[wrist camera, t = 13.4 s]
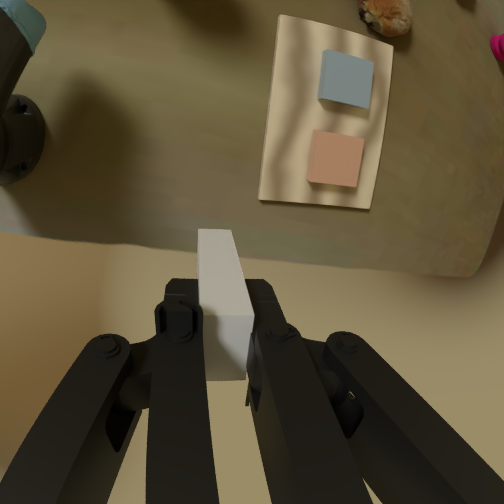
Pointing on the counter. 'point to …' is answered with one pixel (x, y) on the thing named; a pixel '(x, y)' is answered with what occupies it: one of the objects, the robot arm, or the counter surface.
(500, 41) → the pepper mill
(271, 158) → the board
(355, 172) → the pink square tile
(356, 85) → the tile blue
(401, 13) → the bread roll
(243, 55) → the counter surface
